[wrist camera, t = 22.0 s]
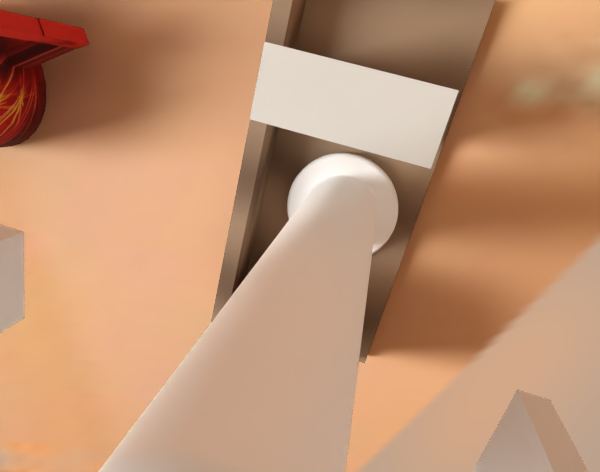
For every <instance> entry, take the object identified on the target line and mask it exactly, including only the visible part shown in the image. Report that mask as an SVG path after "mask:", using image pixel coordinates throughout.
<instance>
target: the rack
mask: <svg viewBox="0 0 600 472" xmlns="http://www.w3.org/2000/svg"><path fill="white" fill-rule="evenodd" d="M494 3H495V0H273V4H272V9H271V14H270V20H269V25H268V30H267V35H266V40H265V42H268V43H272V44H276V45H280V46H284V47H288V48H292V49H296V50H300V51H304V52H308V53H312V54H316V55H320V56H324V57H328V58H332V59H336V60H340V61H344V62H348V63H352V64H356V65H359V66H363V67H367V68H371V69H375V70H379V71H383V72H387V73H391V74H395V75H399V76H403V77H407V78H411V79H415V80H419V81H423V82H427V83H431V84H435V85H439V86H443V87H447V88H451V89H455V90H459V92H458V94H457V97H456V100H455V103H454V106H453V108H452V111H451V114H450V117H449V120H448V122H447V125H446V128H445V131H444V134H443V136H442V139H441V142H440V145H439V147H438V150H437V153H436V156H435V159H434V161H433V164H432V167H431V169H429V168H425V167H422V166H418V165H415V164H411V163H407V162H404V161H400V160H396V159H393V158H389V157H385V156H382V155H378V154H374V153H371V152H367V151H363V150H360V149H356V148H353V147H349V146H345V145H342V144H338V143H334V142H331V141H327V140H323V139H320V138H316V137H312V136H309V135H305V134H302V133H298V132H294V131H291V130H287V129H283V128H280V127H276V126H272V125H269V124H265V123H261V122H258V121H254V120H250V124H249V129H248V134H247V139H246V144H245V149H244V155H243V160H242V165H241V170H240V175H239V181H238V186H237V191H236V196H235V201H234V207H233V212H232V217H231V222H230V227H229V233H228V238H227V243H226V248H225V253H224V259H223V264H222V269H221V274H220V279H219V285H218V290H217V295H216V300H215V305H214V311H213V316H212V321H213V320H214V318H215V317H216V316H217V314H218V313H219V312H220V311H221V309H222V308H223V307H224V305H225V304H226V303H227V301H228V300H229V299H230V297H231V296H232V295H233V293H234V292H235V291H236V289H237V288H238V287H239V285H240V284H241V283H242V281H243V280H244V279H245V278H246V276H247V275H248V274H249V272H250V271H251V270H252V268H253V267H254V266H255V264H256V263H257V262H258V260H259V259H260V258H261V256H262V255H263V254H264V252H265V251H266V250H267V249H268V247H269V246H270V245H271V243H272V242H273V241H274V239H275V238H276V237H277V235H278V234H279V233H280V231H281V230H282V229H283V227H284V226H285V225H286V223H287V222H288V221H289V218H288V212H287V201H288V195H289V191H290V188H291V186H292V183H293V181H294V180H295V178H296V177H297V175H298V174H299V173H300V172H301V171H302V169H304V168H305V167H306V166H307V165H308V164H309V163H311V162H312V161H314V160H316V159H318V158H320V157H322V156H325V155H329V154H334V153H350V154H356V155H359V156H362V157H365V158H367V159H369V160H371V161H372V162H374V163H375V164H377V165H378V166H379V167H380V168H381V169H382V170H383V171H384V172H385V173H386V174H387V175H388V177H389V178H390V180H391V181H392V183H393V185H394V188H395V190H396V194H397V198H398V218H397V223H396V226H395V228H394V231H393V233H392V234H391V236H390V238H389V239H388V240H387V242H386V243H385V244H384V245H383V246H382V247H381V248H380V249H378V250H377V251H376V252H374V253H372V258H371V267H370V275H369V283H368V291H367V299H366V307H365V316H364V324H363V332H362V340H361V348H360V356H359V362H362V363H365V361H366V358H367V355H368V352H369V350H370V347H371V344H372V341H373V338H374V336H375V333H376V330H377V327H378V325H379V322H380V319H381V316H382V313H383V311H384V308H385V305H386V302H387V300H388V297H389V294H390V291H391V289H392V286H393V283H394V280H395V277H396V275H397V272H398V269H399V266H400V264H401V261H402V258H403V255H404V252H405V250H406V247H407V244H408V241H409V239H410V236H411V233H412V230H413V228H414V225H415V222H416V219H417V216H418V214H419V211H420V208H421V205H422V203H423V200H424V197H425V194H426V191H427V189H428V186H429V183H430V180H431V178H432V175H433V172H434V169H435V167H436V164H437V161H438V158H439V155H440V153H441V150H442V147H443V144H444V142H445V139H446V136H447V133H448V130H449V128H450V125H451V122H452V119H453V117H454V114H455V111H456V108H457V106H458V103H459V100H460V97H461V94H462V92H463V89H464V86H465V83H466V81H467V78H468V75H469V72H470V69H471V67H472V64H473V61H474V58H475V56H476V53H477V50H478V47H479V45H480V42H481V39H482V36H483V33H484V31H485V28H486V25H487V22H488V20H489V17H490V14H491V11H492V8H493V6H494ZM212 321H211V322H212Z"/></svg>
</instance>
